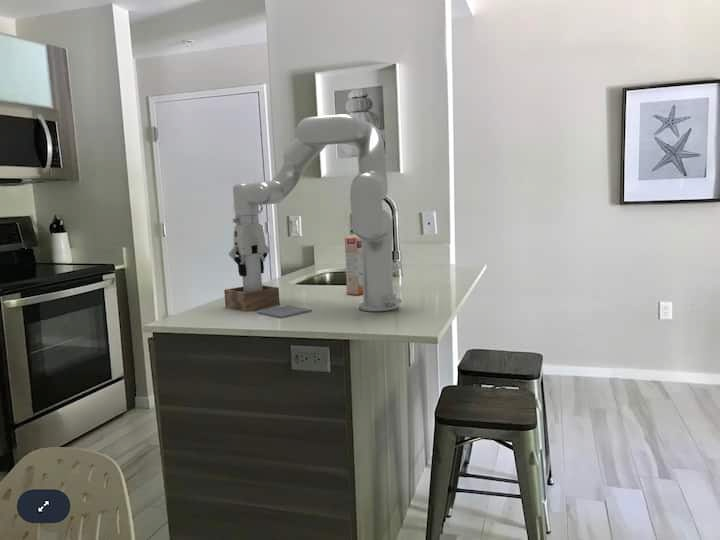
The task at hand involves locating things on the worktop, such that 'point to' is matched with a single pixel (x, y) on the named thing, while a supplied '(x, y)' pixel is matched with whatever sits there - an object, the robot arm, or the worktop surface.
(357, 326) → the worktop surface
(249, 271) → the travel mug
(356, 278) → the cracker box
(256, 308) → the crate
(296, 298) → the worktop surface
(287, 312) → the mat
